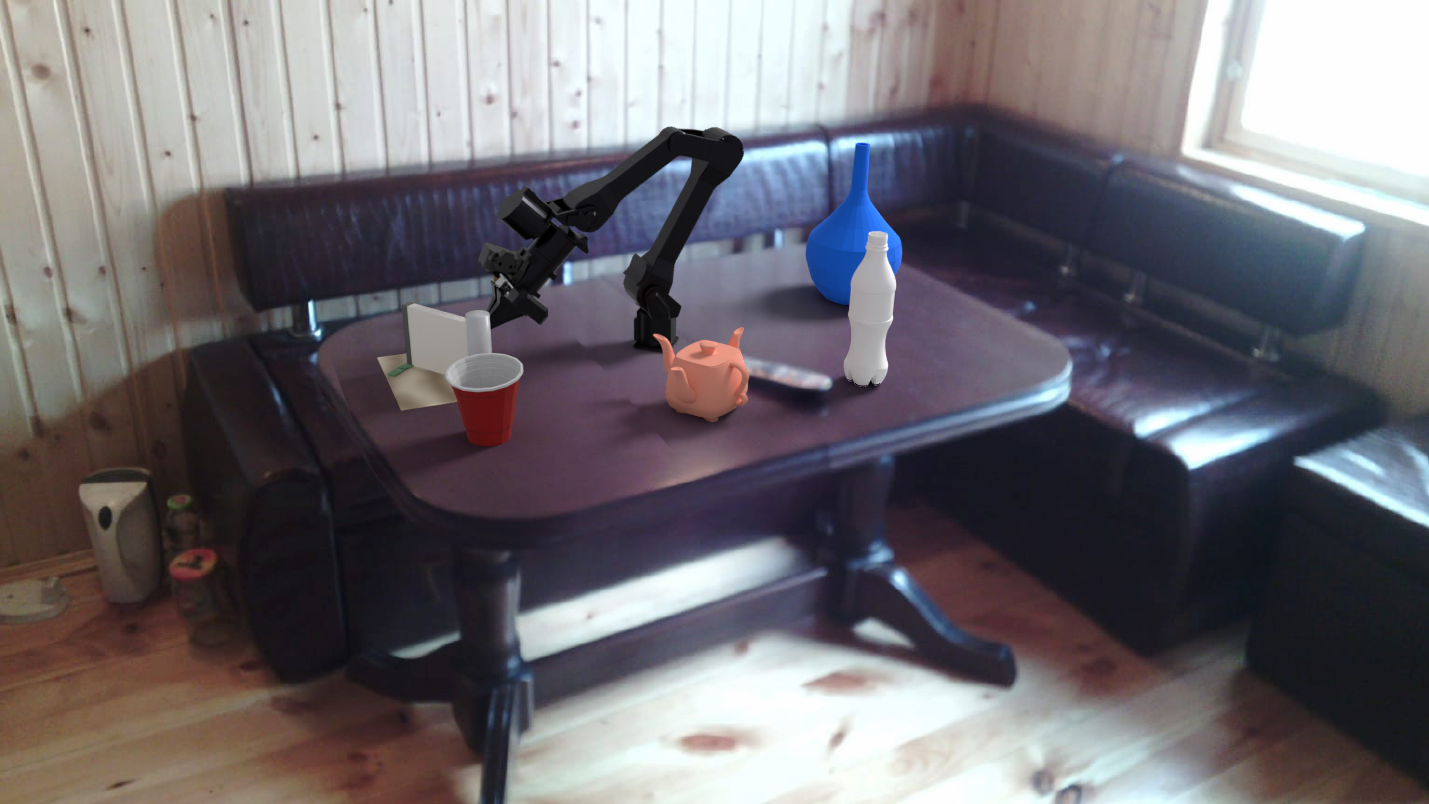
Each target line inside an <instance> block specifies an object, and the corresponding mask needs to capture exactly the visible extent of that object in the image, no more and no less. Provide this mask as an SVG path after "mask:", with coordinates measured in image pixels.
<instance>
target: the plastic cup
mask: <svg viewBox="0 0 1429 804" xmlns="http://www.w3.org/2000/svg"><path fill="white" fill-rule="evenodd" d="M522 375H524V364H523V363H522V362H521V361H520V360H519V359H518V358H517V357H514V356H511V355H508V354H505V353H495V352H492V353H485V354H476V355H472V356H468V357H465V358H462V359H460V360H458V361H456V362H454V363H452V364H451V365H450V367H449V368H448V369H447V370H446V380H447V381H448V382H449V383H450V384H451V386H452V389H453V391H454V394H455V395H456V399H457V402H456V403H457V405H458V409H459V413H460V418H461V420H462V425H463V427H464V429H465V433H466V436H467V440H468V441H469V442H470V443H471V444H473V445H476V446H481V447H495V446H499V445H503V444H505V443H507V442H509V440H510V439H511V438H512V434H513V425H514V422H515V414H516V407H517V406H516V405H517V397H518V391H519V385H520V380H521V377H522Z"/></svg>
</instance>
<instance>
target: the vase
mask: <svg viewBox="0 0 1429 804" xmlns="http://www.w3.org/2000/svg"><path fill="white" fill-rule="evenodd" d="M870 149H871V144H870V143H868V142H857V143H855V147H854V156H853V165H852V173H851V186H850V190H849V192H848V194H847V196H846V198H845V200H844V201H843V202H842V203H841V204H840V205H839V206H838V207H837V208H836V209H834V211H833V212H832V213H830V215H829V216H827V218H825V219H824V220H823V221H821V223H819V224H818V225H817V226H816V227H814V228H813V229H812V230H811V232H810V233H809V234H808V238H807V241H806V244H805V261H806V264H807V268H808V272H809V276H810V278H811V281H812V283H813V284H814V286H815V288H816V289H817V290H818V291H819V293H820V294H821V295H822V296H823V297H824V298H825V299H826V300H828V301H830V302H833V303H836V304H839V305H845V306H850V295H851V280H852V277H853V275H854V273H855V271H856V269H857V268H858V266H859V265H860V263H861V262H862V260H863V259H864V257H865V255H866V251H867V249H866V248H865V247H866V245H867V242H868V235H869V233H870V232H873V231H880V232H884V233H887V234H888V240H887V244H888V246H887V247H888V251H887V259H888V262H889V264H890V266H891V269H892V271H893V274H894V276H895V277H896V275H897V273H898V271H899V268H900V267H901V264H902V257H903V248H902V247H903V246H902V241H901V238H900V236H899V235H898V234H897V233H896V231H894V230H893V228H892V227H891V226H890V225H889V223H887V221H886V220H885V219H884V217H883V216H882V215H881V214H880V212H879V211H878V210H877V209H876V206H875V205H874V204H873V203H872V201H871V200H870V196H869V193H868V181H869V180H868V179H869V170H870V169H869V166H870V153H871V152H870Z"/></svg>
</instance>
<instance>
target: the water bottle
mask: <svg viewBox="0 0 1429 804" xmlns="http://www.w3.org/2000/svg"><path fill="white" fill-rule="evenodd" d="M887 240H888V234H887V233H884V232H880V231H873V232H870V233H869V235H868V242H867V245H866V247H865V248H866V249H867V251H866V255H865V257H864V259H863V260H862V262H861V263H860V265H859V266H858V268H857V269H856V271H855V273H854V275H853V277H852V280H851V295H850V305H848V306H849V309H848V312H847V317H848V318H849V319H848V320H849V324H850V332H851V335H850V336H851V337H850V339H851V340H850V345H849V349H848V352H847V355H846V357H845V359H844V361H843V371H844V374H845V377H846V380H847V379H849V380H851V379H853V381H852V382H853V383H854V384H855V383H856V384H858V385H867V386H868V385H869V384H870V382H871V384H873V383H874V384H879V383H880V384H881V383H882V382H883V381H884V379H885V378H886V376H887V374H888V369H889V362H888V359H887V354H886V338H887V334H888V332H889V328H890V327H891V325H892V323H893V320H894V316H893V312H894V303H895V302H894V301H895V294H896V293H895V292H896V289H897V281H896V275H895V276H894V274H893V271H892V269H891V266H890V264H889V262H888V259H887V251H888V247H887V246H888V244H887ZM849 380H848V381H849ZM856 384H855V385H856ZM880 384H879V385H880ZM858 385H857V386H858Z"/></svg>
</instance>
